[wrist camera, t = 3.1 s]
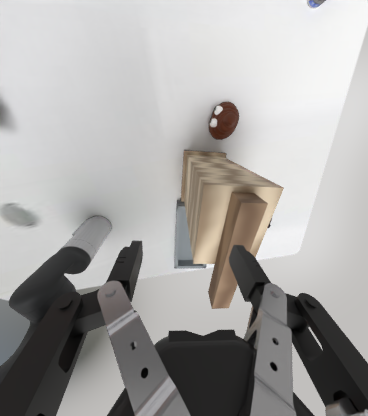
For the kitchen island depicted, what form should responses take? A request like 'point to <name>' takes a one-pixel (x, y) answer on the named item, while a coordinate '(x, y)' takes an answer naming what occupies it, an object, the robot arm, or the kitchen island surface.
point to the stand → (219, 200)
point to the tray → (183, 241)
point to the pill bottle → (315, 3)
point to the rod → (234, 243)
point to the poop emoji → (223, 120)
